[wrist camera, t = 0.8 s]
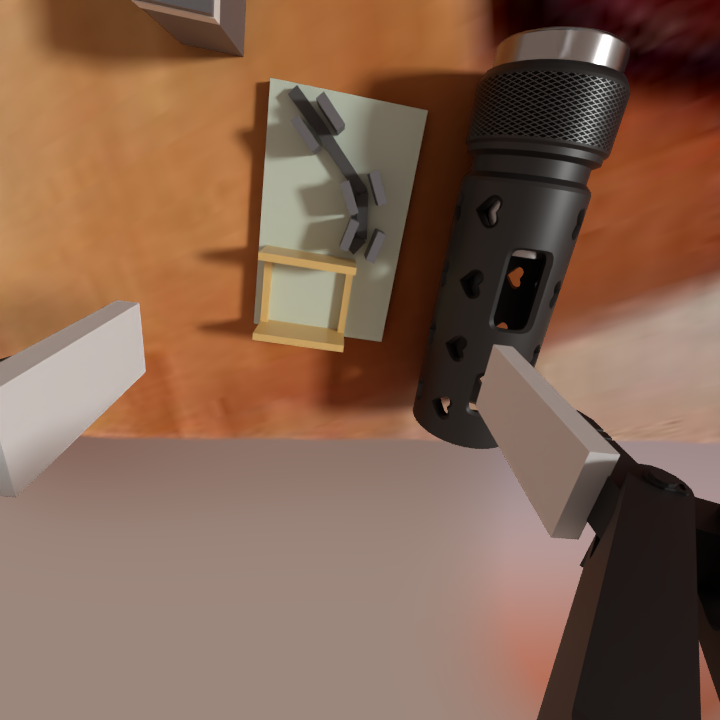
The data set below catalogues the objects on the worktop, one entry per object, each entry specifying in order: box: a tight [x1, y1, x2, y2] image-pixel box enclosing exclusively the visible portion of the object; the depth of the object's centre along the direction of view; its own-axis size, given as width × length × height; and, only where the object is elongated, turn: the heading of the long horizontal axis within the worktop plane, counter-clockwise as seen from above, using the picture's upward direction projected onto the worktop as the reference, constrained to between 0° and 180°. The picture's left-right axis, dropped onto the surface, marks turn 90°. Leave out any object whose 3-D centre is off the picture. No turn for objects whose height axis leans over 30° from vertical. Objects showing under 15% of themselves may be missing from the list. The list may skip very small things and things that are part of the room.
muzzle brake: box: [413, 26, 630, 449], centre depth 32 cm, size 10×28×10 cm, turn 173°
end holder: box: [252, 245, 357, 352], centre depth 34 cm, size 7×8×4 cm
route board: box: [254, 78, 428, 342], centre depth 33 cm, size 19×12×4 cm, turn 171°
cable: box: [288, 85, 368, 255], centre depth 32 cm, size 13×3×1 cm, turn 21°
